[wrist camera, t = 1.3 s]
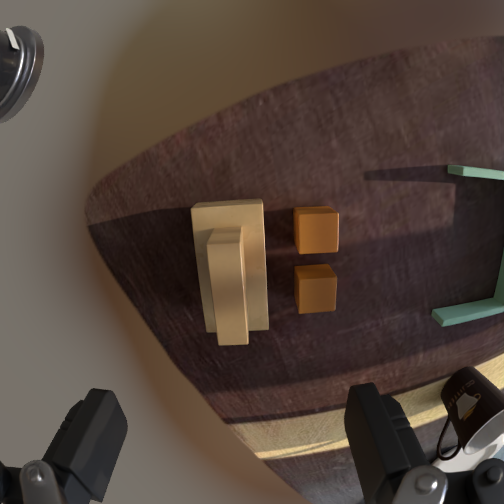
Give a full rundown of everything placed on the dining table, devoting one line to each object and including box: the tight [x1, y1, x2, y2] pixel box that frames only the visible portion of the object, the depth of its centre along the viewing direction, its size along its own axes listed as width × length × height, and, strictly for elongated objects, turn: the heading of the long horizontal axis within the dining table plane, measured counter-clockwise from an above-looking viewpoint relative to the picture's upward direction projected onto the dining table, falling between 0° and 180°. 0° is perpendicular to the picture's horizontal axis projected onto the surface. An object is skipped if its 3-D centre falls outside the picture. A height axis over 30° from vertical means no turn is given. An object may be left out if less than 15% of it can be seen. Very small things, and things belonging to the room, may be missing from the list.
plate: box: [431, 434, 504, 472], centre depth 40 cm, size 25×25×2 cm
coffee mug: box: [436, 367, 504, 461], centre depth 27 cm, size 12×9×10 cm
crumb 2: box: [294, 264, 337, 314], centre depth 25 cm, size 3×3×3 cm
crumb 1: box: [293, 206, 339, 254], centre depth 23 cm, size 3×3×3 cm
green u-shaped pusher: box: [431, 165, 504, 327], centre depth 24 cm, size 17×16×2 cm
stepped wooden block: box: [191, 199, 269, 345], centre depth 22 cm, size 10×5×8 cm, turn 3°
